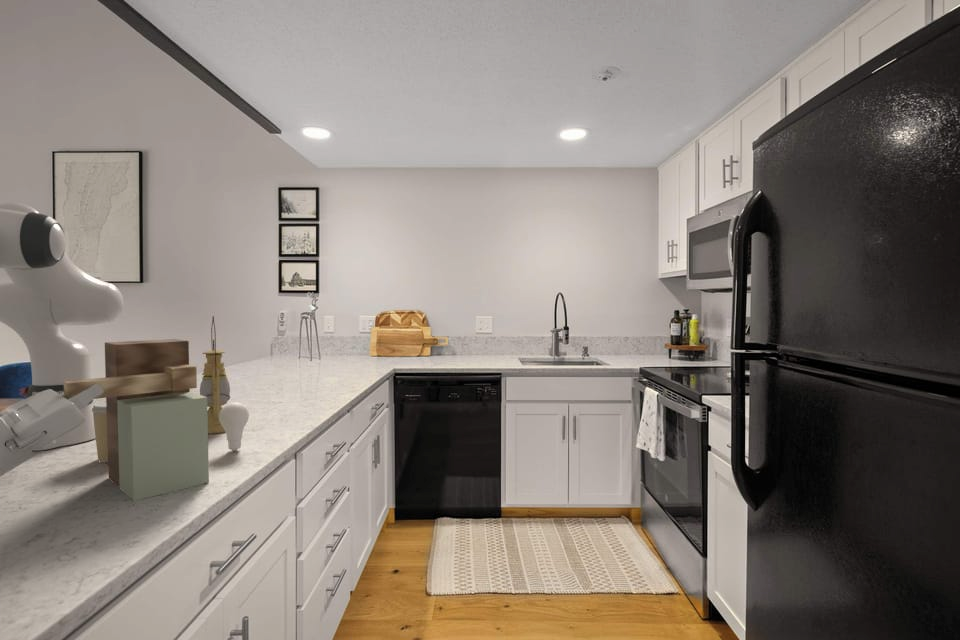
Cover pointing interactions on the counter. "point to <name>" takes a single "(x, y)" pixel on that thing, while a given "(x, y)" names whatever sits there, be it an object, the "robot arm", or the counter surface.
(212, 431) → the lantern
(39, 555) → the counter surface
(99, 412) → the coffee cup
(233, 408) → the lightbulb
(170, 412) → the sage step
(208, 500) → the counter surface
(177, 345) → the walnut shelf
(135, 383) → the beech mallet
